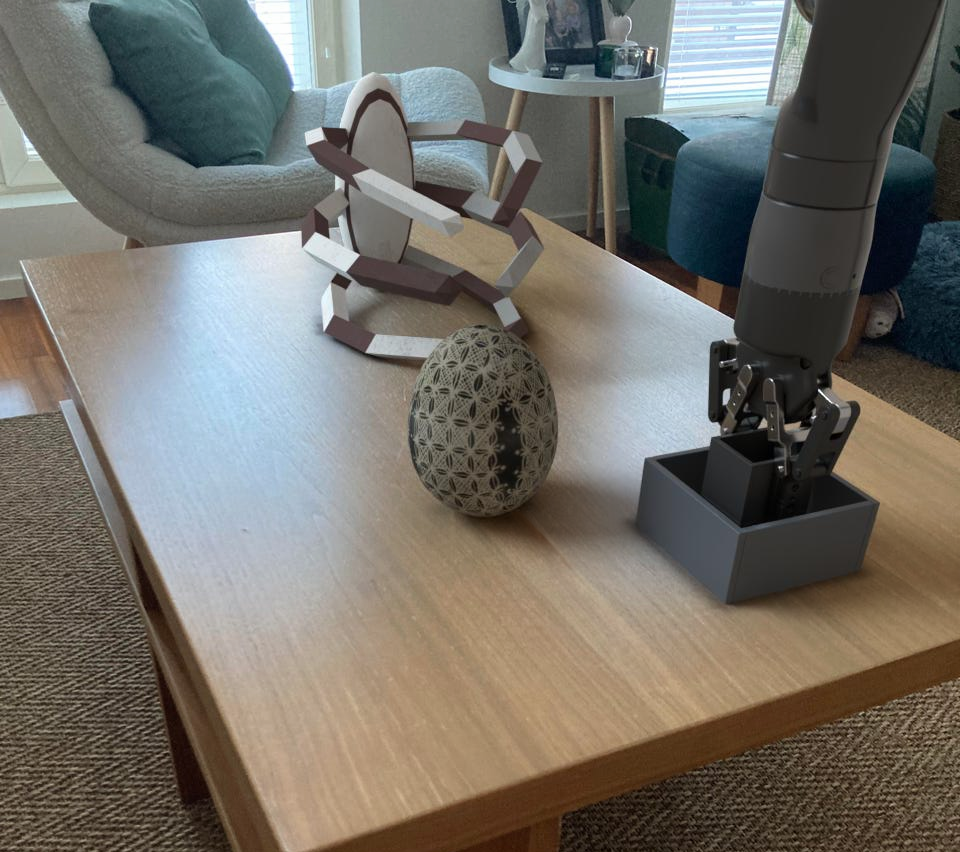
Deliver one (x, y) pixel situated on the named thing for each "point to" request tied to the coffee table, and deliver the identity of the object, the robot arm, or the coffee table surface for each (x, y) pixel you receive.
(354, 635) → the coffee table surface
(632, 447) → the coffee table surface
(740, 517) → the small bin
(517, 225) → the segmented loop sculpture
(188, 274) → the coffee table surface
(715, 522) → the grey bin
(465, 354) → the decorative egg
